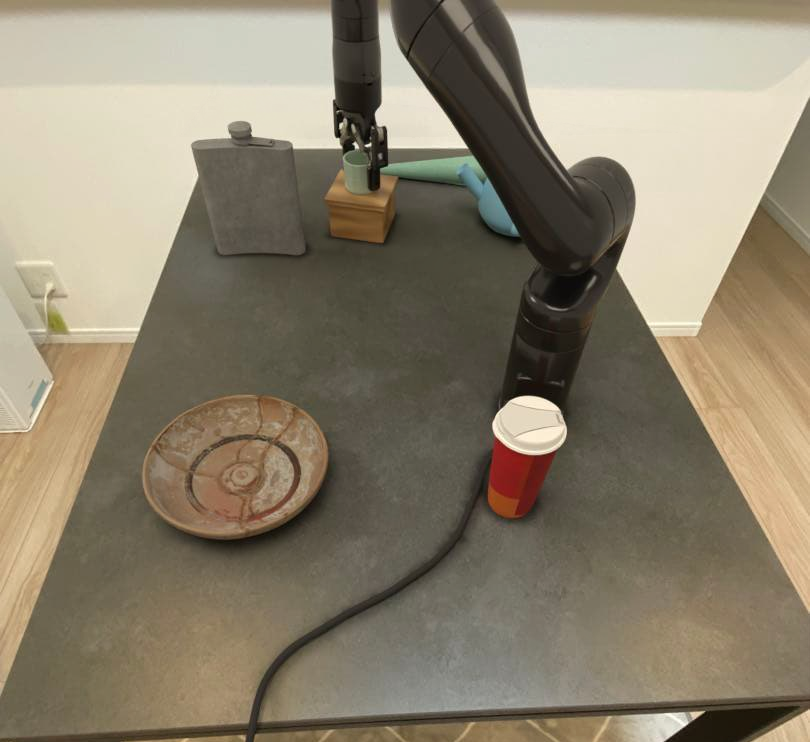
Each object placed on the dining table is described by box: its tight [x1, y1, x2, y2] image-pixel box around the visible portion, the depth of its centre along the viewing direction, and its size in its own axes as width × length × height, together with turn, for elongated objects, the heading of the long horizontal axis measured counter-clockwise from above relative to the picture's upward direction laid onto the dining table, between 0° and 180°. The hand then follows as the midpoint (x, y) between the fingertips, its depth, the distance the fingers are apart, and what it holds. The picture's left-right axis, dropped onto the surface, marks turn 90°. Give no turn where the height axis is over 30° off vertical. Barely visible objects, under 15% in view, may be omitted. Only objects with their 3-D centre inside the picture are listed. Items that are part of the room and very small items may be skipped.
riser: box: [323, 168, 399, 244], centre depth 111 cm, size 11×11×7 cm
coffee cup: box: [487, 396, 568, 519], centre depth 73 cm, size 8×8×15 cm
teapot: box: [456, 163, 521, 238], centre depth 111 cm, size 20×20×13 cm
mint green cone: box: [380, 155, 487, 187], centre depth 122 cm, size 5×6×27 cm
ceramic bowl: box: [141, 394, 329, 541], centre depth 78 cm, size 23×24×5 cm
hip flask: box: [190, 120, 307, 256], centre depth 101 cm, size 16×4×20 cm, turn 91°
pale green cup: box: [342, 149, 374, 195], centre depth 106 cm, size 6×6×5 cm
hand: (361, 179), depth 107 cm, fingers open, 8 cm apart
